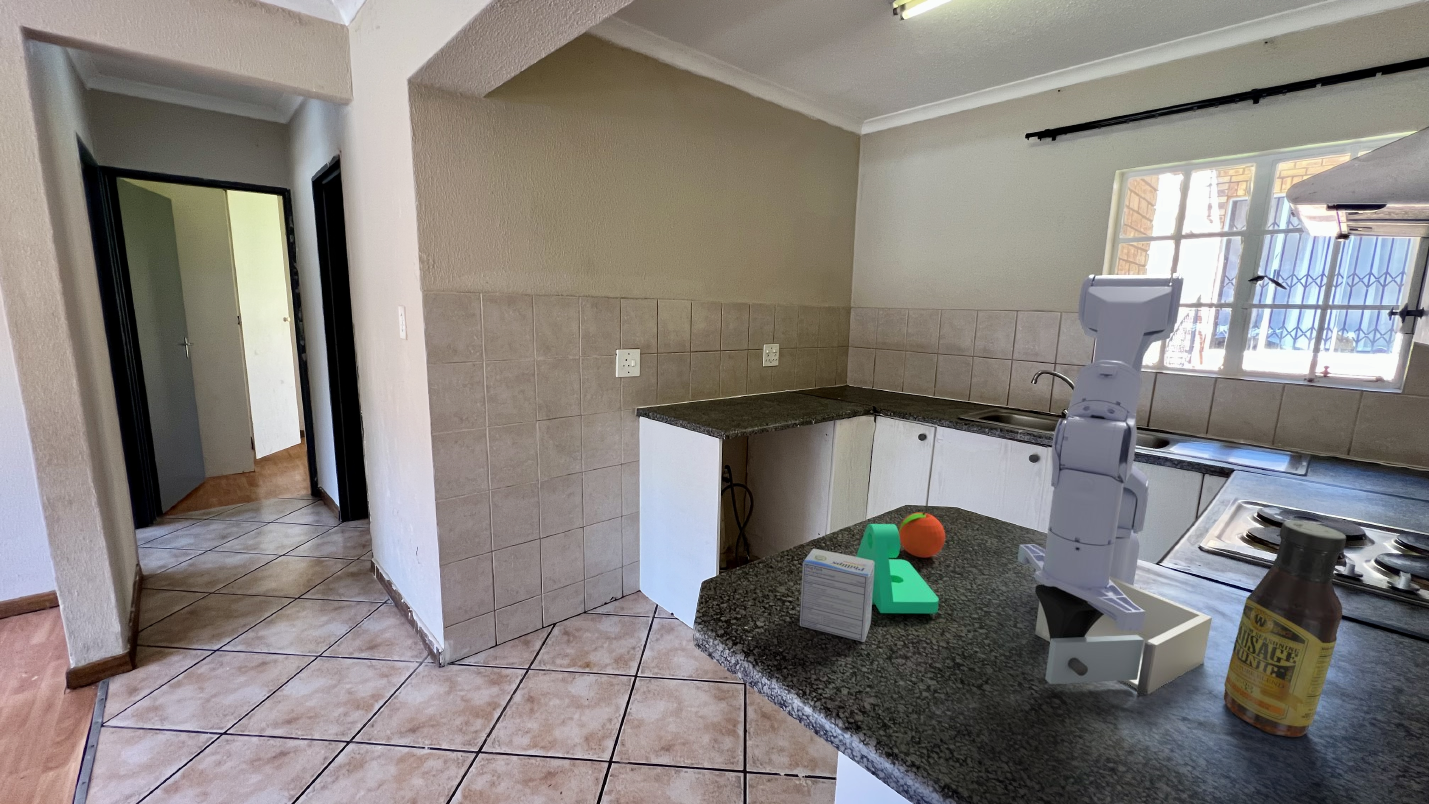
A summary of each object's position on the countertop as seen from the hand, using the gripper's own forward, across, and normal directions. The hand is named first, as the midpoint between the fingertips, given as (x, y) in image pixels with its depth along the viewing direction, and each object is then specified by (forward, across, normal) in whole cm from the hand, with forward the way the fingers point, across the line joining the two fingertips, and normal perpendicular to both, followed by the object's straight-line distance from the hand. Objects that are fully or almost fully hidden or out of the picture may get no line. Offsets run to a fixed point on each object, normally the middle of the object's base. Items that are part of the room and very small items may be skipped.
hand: (1063, 654), depth 59 cm
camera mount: (+3, -19, -10) cm, 21 cm away
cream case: (+3, -4, +11) cm, 12 cm away
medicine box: (+3, -12, -21) cm, 24 cm away
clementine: (+3, -30, 0) cm, 30 cm away
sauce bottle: (+3, +8, +16) cm, 18 cm away
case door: (+2, +2, +2) cm, 4 cm away
